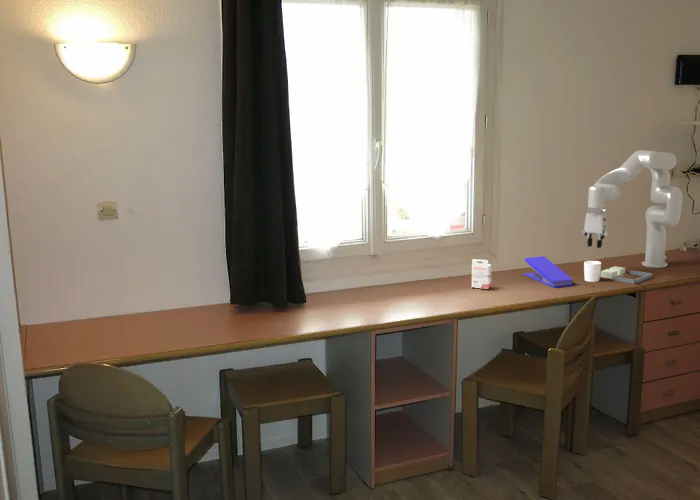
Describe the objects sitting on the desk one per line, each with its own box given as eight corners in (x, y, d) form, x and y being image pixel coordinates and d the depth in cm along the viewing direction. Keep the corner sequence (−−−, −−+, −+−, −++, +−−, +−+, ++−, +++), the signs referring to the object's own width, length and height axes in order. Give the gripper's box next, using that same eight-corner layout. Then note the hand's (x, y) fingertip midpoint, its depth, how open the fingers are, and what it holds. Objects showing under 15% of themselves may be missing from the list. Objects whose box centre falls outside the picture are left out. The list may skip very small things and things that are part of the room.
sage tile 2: (614, 272, 367) (615, 266, 366) (625, 273, 363) (625, 267, 362) (609, 274, 363) (609, 268, 363) (619, 275, 359) (619, 269, 359)
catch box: (630, 275, 363) (630, 270, 362) (652, 279, 355) (652, 273, 354) (612, 282, 352) (613, 276, 351) (635, 286, 343) (635, 280, 343)
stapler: (541, 273, 374) (541, 255, 372) (573, 286, 348) (574, 266, 346) (521, 276, 371) (522, 257, 369) (553, 289, 345) (553, 268, 343)
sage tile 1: (606, 274, 362) (607, 269, 361) (617, 276, 358) (617, 270, 357) (601, 276, 358) (601, 271, 357) (611, 278, 354) (611, 272, 353)
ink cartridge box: (491, 288, 349) (491, 258, 346) (488, 290, 344) (488, 260, 341) (474, 286, 353) (474, 256, 350) (471, 288, 348) (471, 259, 345)
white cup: (597, 285, 348) (598, 264, 346) (581, 283, 352) (581, 263, 350) (602, 281, 354) (603, 261, 352) (586, 279, 358) (587, 260, 356)
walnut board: (604, 272, 372) (604, 269, 372) (629, 276, 362) (629, 273, 362) (588, 277, 362) (588, 275, 362) (613, 282, 352) (613, 279, 352)
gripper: (615, 211, 354) (614, 248, 357) (584, 208, 366) (583, 243, 370) (607, 213, 349) (606, 250, 353) (576, 210, 361) (575, 246, 365)
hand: (594, 246), depth 361 cm, fingers open, 4 cm apart
